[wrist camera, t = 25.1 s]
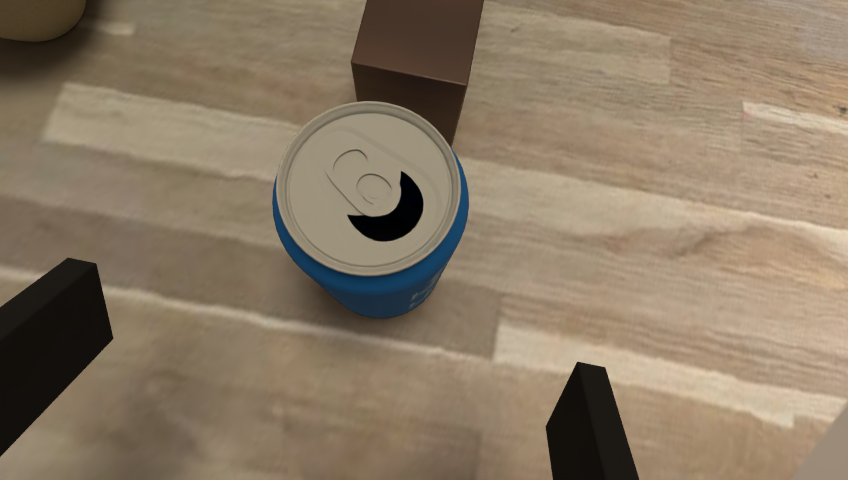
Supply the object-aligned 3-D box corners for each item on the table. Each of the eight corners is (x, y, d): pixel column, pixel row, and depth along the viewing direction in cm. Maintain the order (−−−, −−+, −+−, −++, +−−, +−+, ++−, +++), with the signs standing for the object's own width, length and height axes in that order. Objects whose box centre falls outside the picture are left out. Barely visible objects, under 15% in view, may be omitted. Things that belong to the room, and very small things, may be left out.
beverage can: (375, 344, 25) (356, 337, 13) (298, 254, 26) (216, 174, 14) (465, 264, 26) (518, 194, 15) (388, 181, 27) (380, 51, 16)
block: (447, 161, 28) (467, 86, 20) (363, 144, 28) (350, 62, 20) (462, 85, 29) (486, -13, 21) (381, 69, 29) (375, -36, 21)
